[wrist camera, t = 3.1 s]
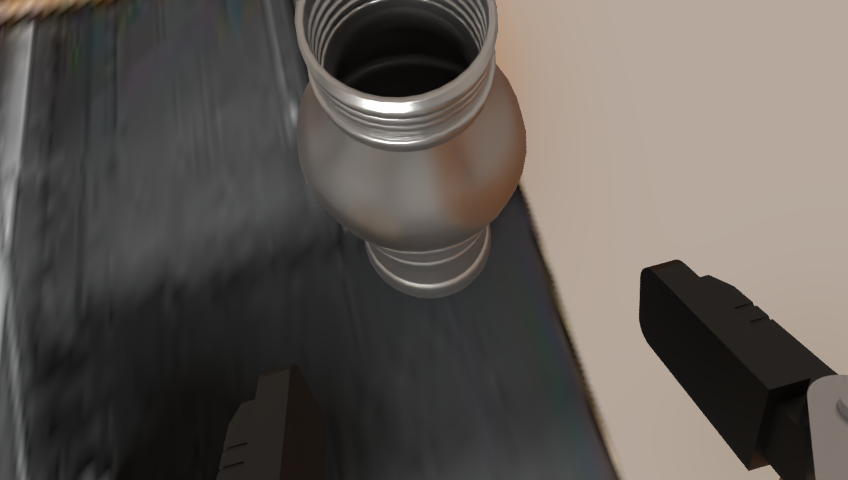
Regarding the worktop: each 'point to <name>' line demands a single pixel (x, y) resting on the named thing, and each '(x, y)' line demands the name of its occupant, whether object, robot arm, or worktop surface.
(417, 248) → the silver bottle
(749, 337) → the robot arm
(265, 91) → the worktop surface
